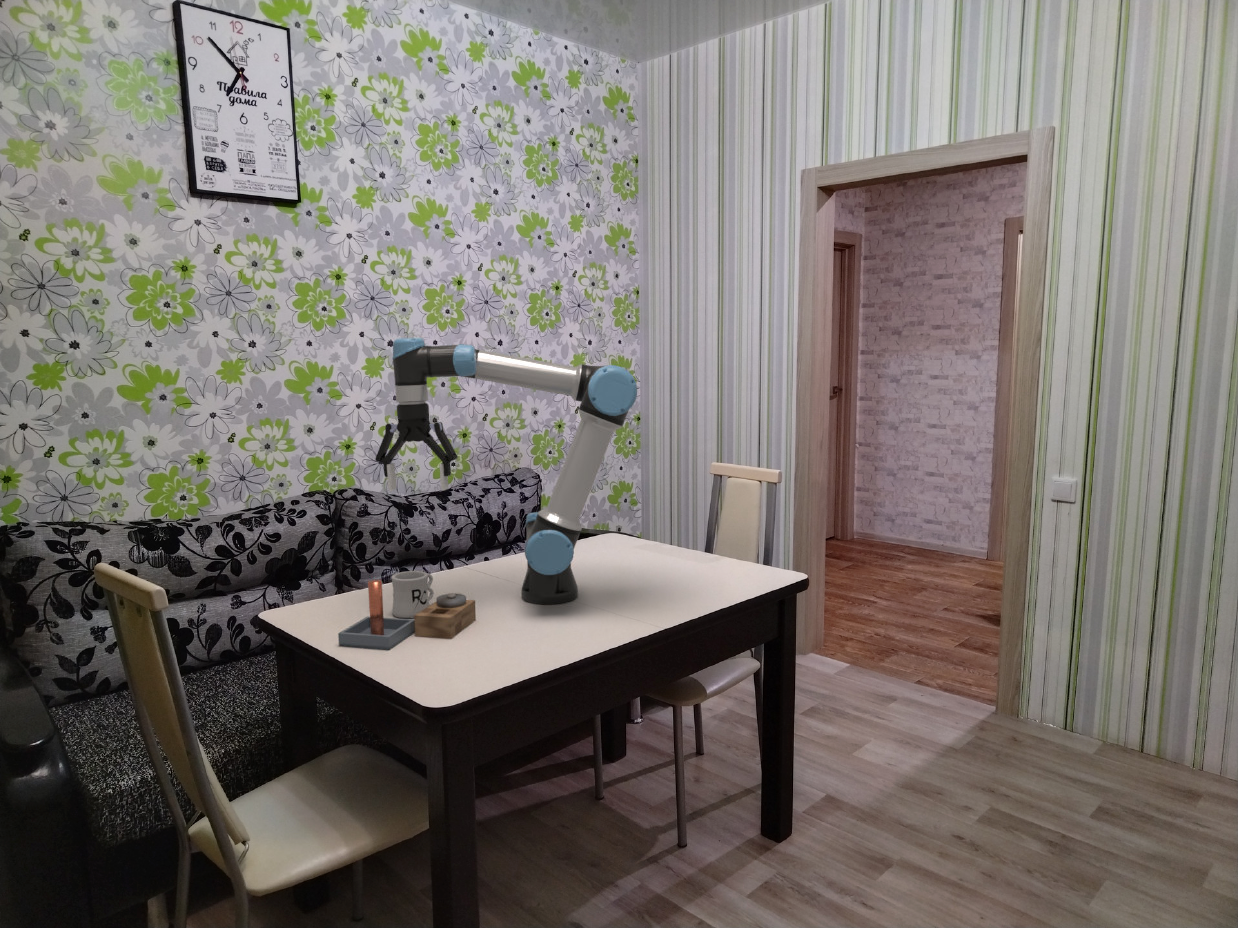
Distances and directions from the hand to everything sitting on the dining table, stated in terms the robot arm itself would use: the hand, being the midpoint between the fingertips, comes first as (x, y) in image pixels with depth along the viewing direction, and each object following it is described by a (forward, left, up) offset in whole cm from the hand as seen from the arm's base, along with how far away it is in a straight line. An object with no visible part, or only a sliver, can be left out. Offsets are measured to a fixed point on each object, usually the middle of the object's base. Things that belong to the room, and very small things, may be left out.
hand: (418, 490), depth 202 cm
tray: (+2, +18, -32) cm, 37 cm away
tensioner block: (-10, +7, -32) cm, 34 cm away
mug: (+3, -3, -32) cm, 32 cm away
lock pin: (+3, +18, -31) cm, 36 cm away
